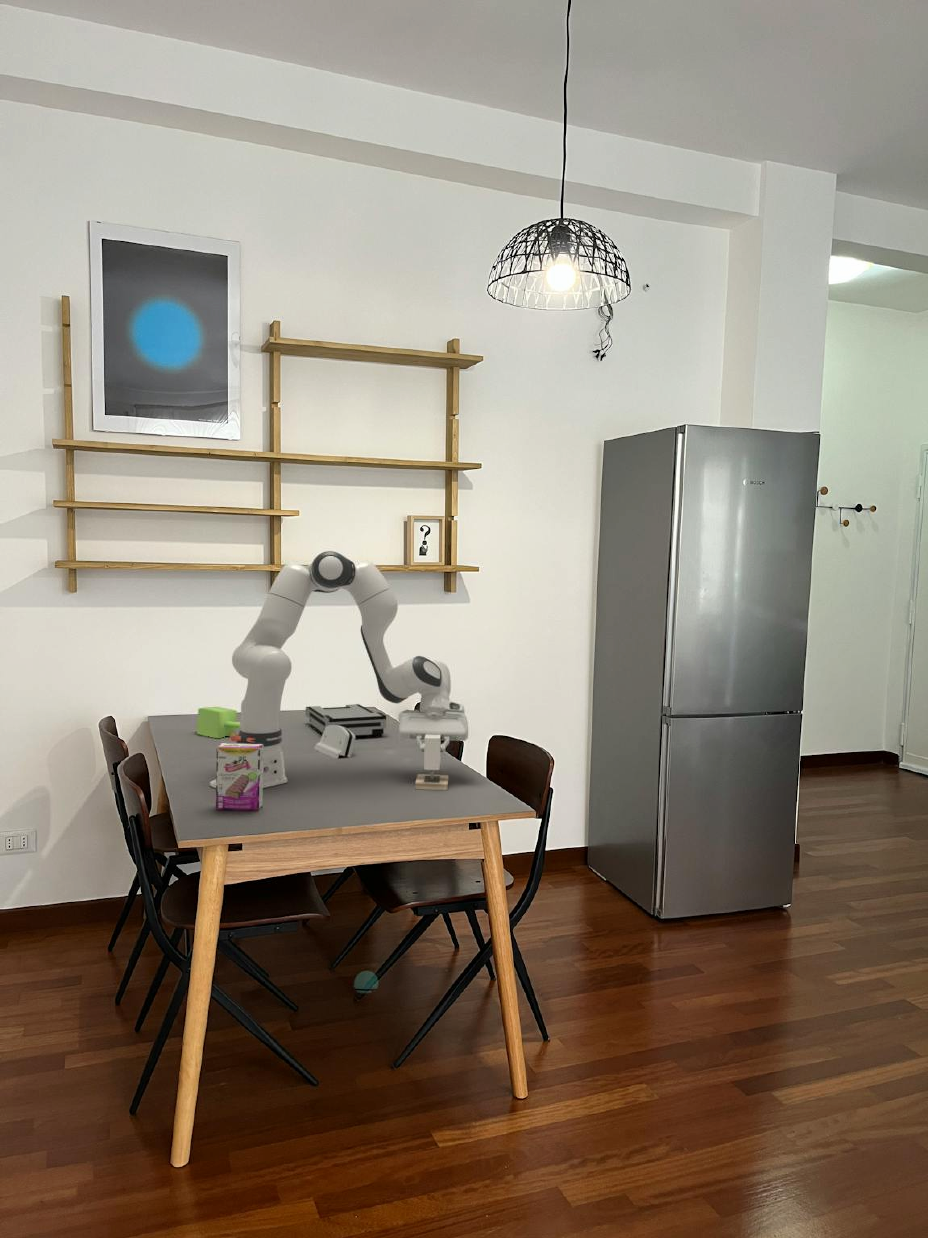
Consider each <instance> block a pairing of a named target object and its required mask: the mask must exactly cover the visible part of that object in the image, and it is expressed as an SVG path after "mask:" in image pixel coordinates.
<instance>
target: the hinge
mask: <svg viewBox="0 0 928 1238" xmlns="http://www.w3.org/2000/svg"><path fill="white" fill-rule="evenodd" d="M355 741H356V735H354V734H353V733H352V732H351V731H350V730H349V729H347V728H345V727H342V726H339V725H329V726H326V728H325V730H324V732H323V735H322V734H321V738H320V740H319V741H318V742H317V743H316V744H315V745H314V749H313V750H315V751H316V752H320V753H322V754H324V755H327V756H329V757H331V758H333V759H336V760H337V759H339V756H343V757H347V758H351V757H352V754H353V750H354V745H355Z"/></svg>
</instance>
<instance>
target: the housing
mask: <svg viewBox="0 0 928 1238" xmlns="http://www.w3.org/2000/svg"><path fill="white" fill-rule="evenodd" d="M441 741H442V740H441V735H430V734H426V735H425V740H424V744H425V746H424V752H423V753H424V755H423V756H424V757H423V758H424V759H423V760H424V761H423V769H424V770H425V771H426V770H427V771H430V770H434V771H439V770H440V766H441V752H440V744H442V742H441Z"/></svg>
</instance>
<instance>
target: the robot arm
mask: <svg viewBox="0 0 928 1238" xmlns="http://www.w3.org/2000/svg"><path fill="white" fill-rule="evenodd" d="M340 589H343V590H345V591H347V592H348V593H349V594H350V595H351V596H352V597H353V600H354V602H355V604H356V606H357V607H358V610H359V613H360V616H361V626H360V634H361V639H362V641H363V644H364V647H365V649H366V652H367V655H368V657H369V661H370V664H371V666H372V669H373V672H374V674H375V678H376V681H377V687H378V691H379V693H380V695H381V696H382V698H383V699H384V700H387V701H388V702H389V703H393V704H400V703H402V702H403V701H405V700H407V699H409V697H411V696H414V695H416V694H420V695H421V697H420V700H419V701H420V702H419V703H420V704H419V709H405V710H402V711H401V712H399V714H398V722H399V724H398V737H399V738H400V739H401V740H416V743H417V745H418V746H419V752H421V753H422V752H423V753H424V746H425V743H423V741H425V735H426V734H430V735H441V741H444V742H442V743H441V744H440V753H446V748H447V746H449V744H450V741H457V742H458V741H460V742H461V741H463V742H466V740H468V739H469V725H468V724H469V723H468V717H467V716H466V714H465V713H466V712H465V706H464V704H460V703H457V702H454V701H452V700H450V694H451V687H452V685H451V683H452V682H451V674H450V670H449V667H448V665H447V664H445V663H444V662H442V661H440V660H430V659H429V658H427V657H425V656H421V655H417V656H414V657H412V658H411V659H408V660H407V661H405V662H403V663H401V664H399V665H398V666H396V667H393V665H392V663H391V660H390V657H389V655H388V652H387V649H386V647H385V644H384V636H385V633H386V632H387V630H388V628H389V627H390V626H391V624H392V623H393V621H394V619H395V618H396V616H397V614H398V609H399V607H398V606H399V604H398V600H397V598H396V596H395V593H394V591H393V590H392V588H391V586H390V585H389V583H388V581H387V580H386V578H385V577H384V575H383V574H382V572H381V571H380V570H379V568H377V566H376V564H374V563H373V562H371V561H368V560H365V561H364V560H363V561H359V562H356V563H355V562H353V561H352V560H350V559H348V557H345V555H343V554H341V553H339V552H336V551H332V550H328V551H327V550H326V551H322V552H321V553H319V554H318V555H317V556H315V557H314V559H313V561H312V562H311V563H310V564H309V565H303V564H302V565H301V564H299V563H288V564H285V565H284V566H283V567H282V568H281V570H280V571H279V572H278V574H277V576H276V577H275V580H274V581H273V582H272V585H271V588H270V589H269V591H268V594H267V597H266V598H265V600H264V601H265V602H264V603H263V606H262V607H261V610H260V613H259V616H258V617H257V619H256V621H255V623H254V624H253V626H252V627H251V629H250V630H249V632H248V633H247V635H246V636H245V638H244V640H242V642H241V643H240V644H239V646H237V647H236V648H235V650H234V651H233V653H232V655H231V663H232V667H233V669H234V670H235V671H236V673H238V674H239V676H241V677H242V678H244V679H246V680H247V686H246V690H245V695H244V698H243V699H242V701H241V703H240V704H241V705H240V722H241V727H240V730H239V732H238V734H236V735H235V734H232V735H231V736H229V739H230V741H231V742H235V744H263V789H264V788H265V789H266V788H269V787H274V786H278V785H282V784H287V783H288V781H289V780H288V778H287V776H286V771H285V761H284V759H285V758H284V752H283V750H282V745H281V743H282V741H283V740H282V739H283V733H282V729H281V704H282V697H283V694H284V689H285V685H286V681H287V679H288V678H289V677H290V675H291V672H292V661H291V659H290V657H289V655H287V653H285V652H284V651H283V650H282V648H283V646H284V645H285V643H286V642H287V640H288V639H289V638H290V637H292V636H293V634H295V632H296V629H297V628H298V625H299V622H300V620H301V617H302V615H303V612H304V610H305V608H306V606H307V602H308V599H309V597H310V596H311V594H312V593H313V592H314V593H315V592H317V593H325V594H327V593H329V594H330V593H334V592H337V591H338V590H340ZM209 786H210V787H212V788H214V789H216V779H213V780H211V781H209Z"/></svg>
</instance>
